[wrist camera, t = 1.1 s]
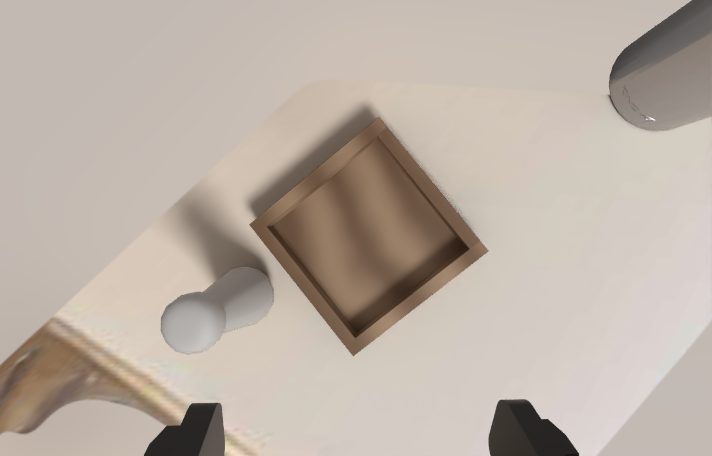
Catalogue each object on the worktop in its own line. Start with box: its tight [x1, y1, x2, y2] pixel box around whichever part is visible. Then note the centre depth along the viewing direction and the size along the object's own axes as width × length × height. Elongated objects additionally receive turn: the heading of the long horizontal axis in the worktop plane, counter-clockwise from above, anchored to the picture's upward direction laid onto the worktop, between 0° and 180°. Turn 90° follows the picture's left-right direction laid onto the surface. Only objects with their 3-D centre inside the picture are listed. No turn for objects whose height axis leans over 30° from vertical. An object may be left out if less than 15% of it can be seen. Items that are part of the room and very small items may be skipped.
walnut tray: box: [249, 117, 488, 356], centre depth 35 cm, size 16×16×3 cm
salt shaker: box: [161, 266, 274, 355], centre depth 31 cm, size 6×6×13 cm
